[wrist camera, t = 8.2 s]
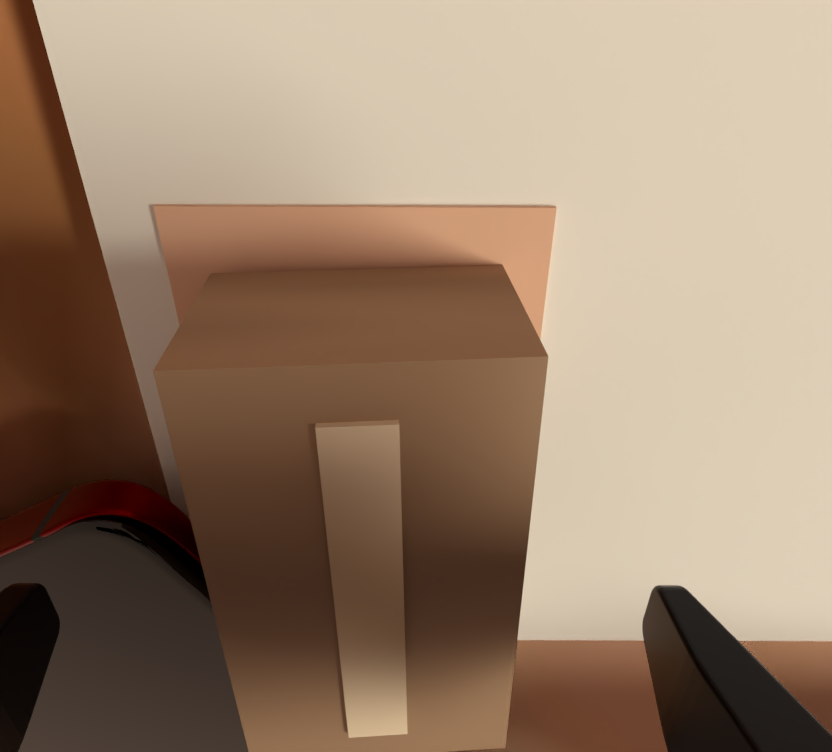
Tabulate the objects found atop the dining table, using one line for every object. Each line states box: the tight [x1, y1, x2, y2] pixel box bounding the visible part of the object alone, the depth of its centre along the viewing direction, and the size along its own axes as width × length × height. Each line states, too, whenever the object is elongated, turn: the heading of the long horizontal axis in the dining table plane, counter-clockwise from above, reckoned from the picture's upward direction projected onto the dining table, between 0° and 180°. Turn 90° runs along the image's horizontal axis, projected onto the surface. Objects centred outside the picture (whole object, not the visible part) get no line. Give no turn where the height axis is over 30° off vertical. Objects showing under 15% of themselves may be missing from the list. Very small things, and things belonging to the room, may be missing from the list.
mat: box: [33, 0, 832, 641], centre depth 12 cm, size 17×14×1 cm
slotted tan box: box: [153, 265, 548, 752], centre depth 11 cm, size 8×4×3 cm, turn 0°
